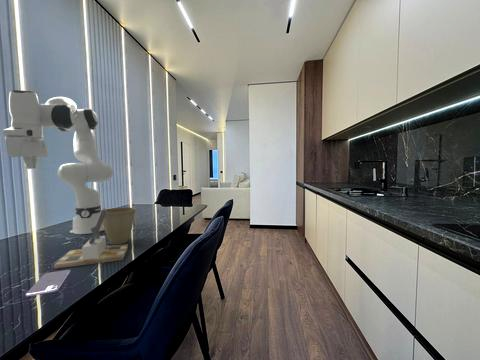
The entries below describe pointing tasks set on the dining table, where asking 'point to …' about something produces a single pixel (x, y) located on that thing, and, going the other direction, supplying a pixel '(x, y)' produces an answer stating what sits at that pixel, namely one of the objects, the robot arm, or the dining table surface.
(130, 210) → the plant pot
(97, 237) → the aux switch
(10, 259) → the dining table surface
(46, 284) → the mobile phone
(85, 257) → the switch housing
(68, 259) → the base
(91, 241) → the main switch
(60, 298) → the dining table surface
